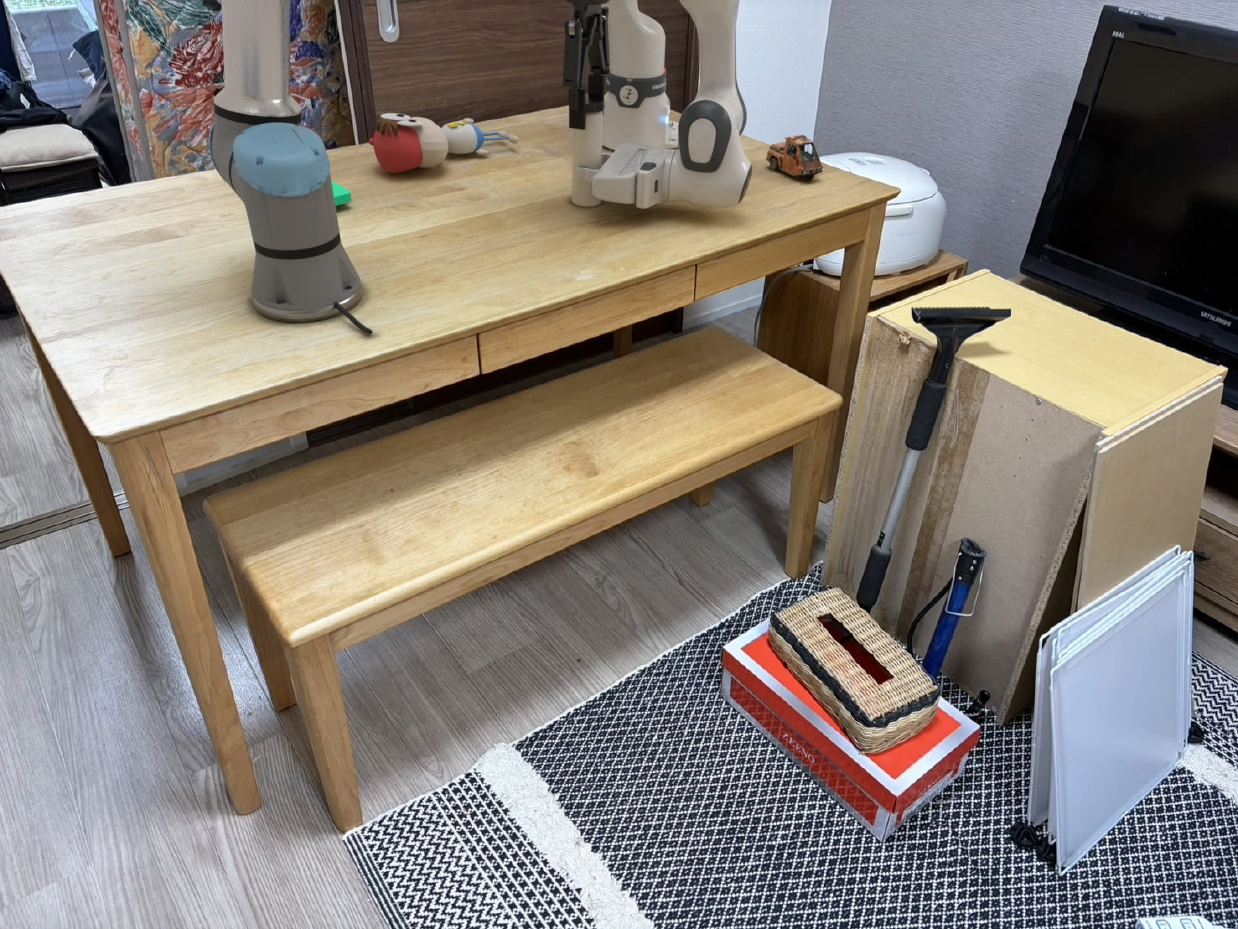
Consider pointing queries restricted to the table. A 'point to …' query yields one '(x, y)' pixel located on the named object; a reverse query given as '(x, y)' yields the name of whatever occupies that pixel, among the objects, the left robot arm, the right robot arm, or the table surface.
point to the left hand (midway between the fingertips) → (586, 121)
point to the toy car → (795, 157)
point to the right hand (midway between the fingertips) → (581, 165)
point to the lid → (594, 103)
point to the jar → (586, 157)
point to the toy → (425, 141)
